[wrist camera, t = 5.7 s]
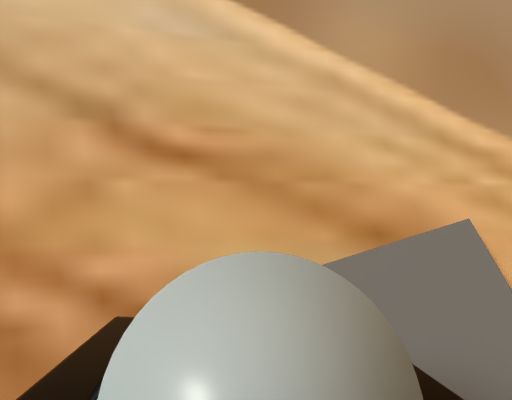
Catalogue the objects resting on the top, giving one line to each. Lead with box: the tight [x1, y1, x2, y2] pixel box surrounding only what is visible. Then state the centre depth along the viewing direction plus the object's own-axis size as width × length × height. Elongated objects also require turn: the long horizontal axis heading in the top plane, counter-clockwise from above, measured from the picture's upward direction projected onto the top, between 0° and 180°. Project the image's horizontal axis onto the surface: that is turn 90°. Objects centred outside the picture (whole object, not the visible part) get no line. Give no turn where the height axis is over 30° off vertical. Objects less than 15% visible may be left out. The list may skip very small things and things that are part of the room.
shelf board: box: [322, 219, 512, 400], centre depth 19 cm, size 14×12×2 cm
